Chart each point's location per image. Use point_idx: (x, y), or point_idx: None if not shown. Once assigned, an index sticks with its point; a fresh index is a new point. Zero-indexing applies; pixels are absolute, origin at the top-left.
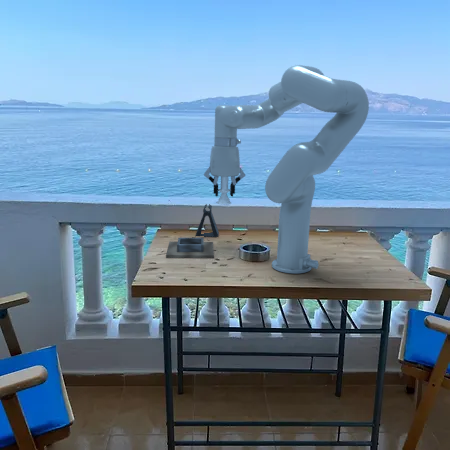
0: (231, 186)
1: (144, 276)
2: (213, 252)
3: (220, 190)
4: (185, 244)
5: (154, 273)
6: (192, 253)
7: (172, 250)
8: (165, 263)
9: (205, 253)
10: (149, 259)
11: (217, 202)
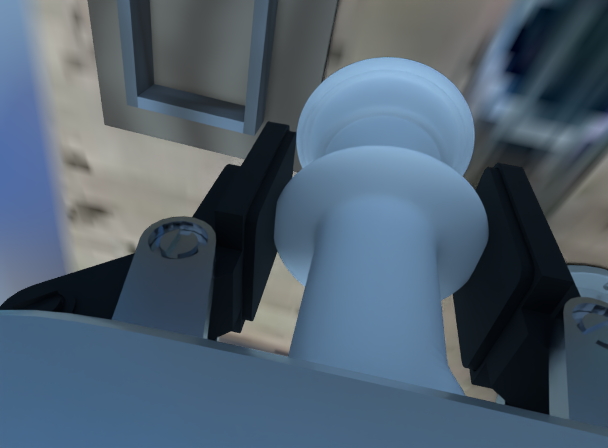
0: (464, 360)
1: (85, 257)
2: None
3: (303, 276)
4: (166, 106)
5: (106, 246)
6: (213, 128)
7: (120, 64)
8: (121, 176)
9: None
10: (53, 121)
11: (304, 152)
